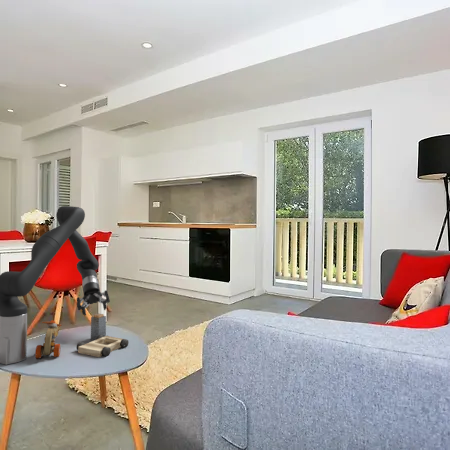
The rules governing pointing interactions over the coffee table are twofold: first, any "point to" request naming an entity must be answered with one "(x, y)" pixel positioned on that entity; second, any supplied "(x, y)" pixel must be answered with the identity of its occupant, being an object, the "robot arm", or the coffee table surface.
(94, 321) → the block
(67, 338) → the coffee table surface
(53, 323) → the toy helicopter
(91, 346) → the chassis
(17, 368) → the coffee table surface
